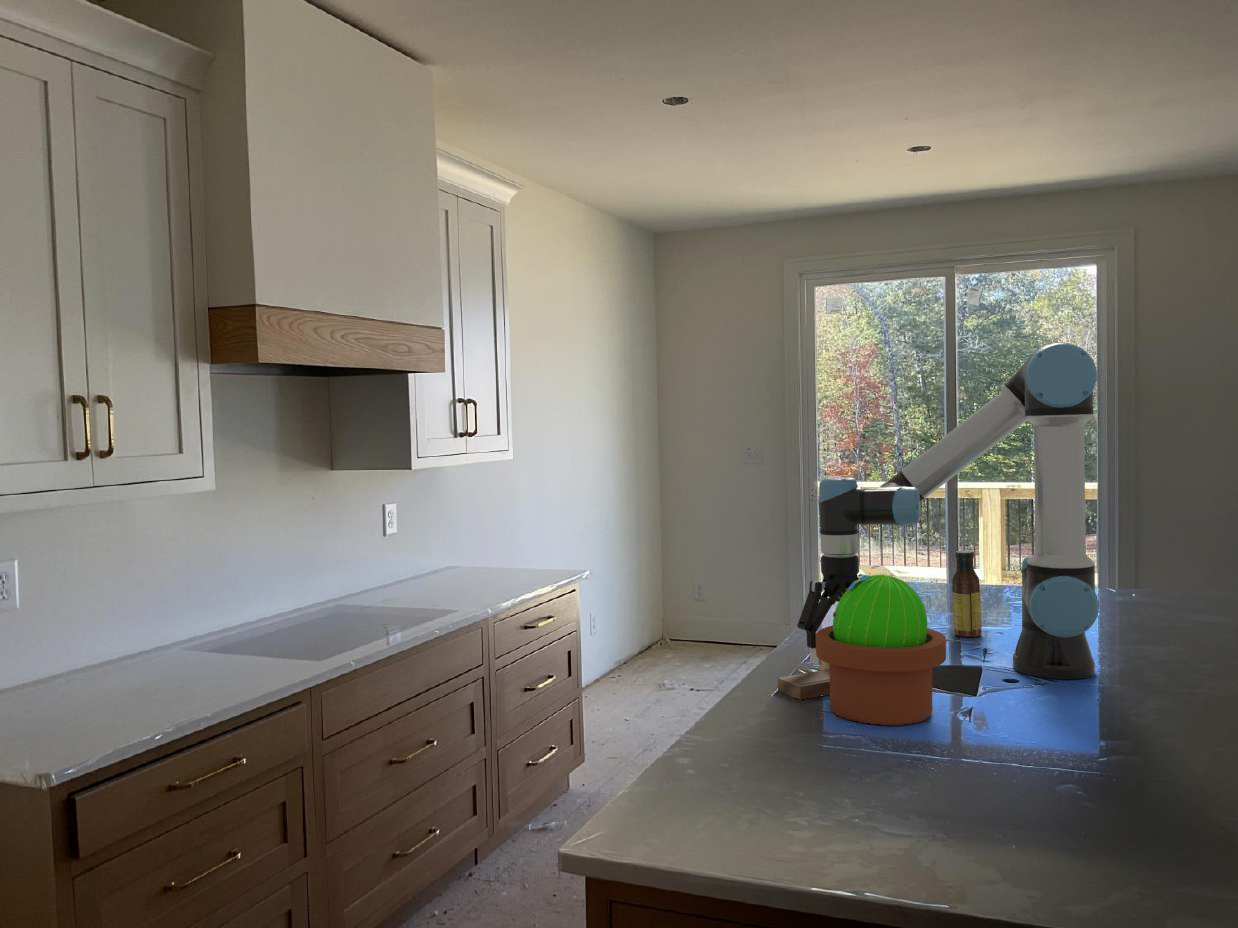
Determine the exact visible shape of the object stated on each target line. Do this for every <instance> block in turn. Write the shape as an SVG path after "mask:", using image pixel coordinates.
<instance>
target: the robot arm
mask: <svg viewBox="0 0 1238 928" xmlns="http://www.w3.org/2000/svg"><path fill="white" fill-rule="evenodd" d="M1097 380H1098V371H1097V366H1096V363H1095V361H1094V359H1093V358H1092V357H1091V355H1090V354H1089V353H1088V352H1087V351H1086V350H1084V349H1083V348H1081V347H1080V346H1078V345H1076V344H1072V343H1068V342H1056V343H1049V344H1047V345H1044V346H1042V347H1040V348H1039V349H1037V350H1036V351H1035V352H1034V353H1032V354H1031V355H1030V357H1029V358H1028V359H1026V361H1025V363H1024V364H1023V365H1022V366H1021V367H1020V368H1019V369H1018V370H1017V371H1016V372H1015V373H1014V374H1013V376H1011V377H1010V378H1009V379H1007V381H1005V382H1004V383H1003V384H1001V387H1000V392H999V393H997V394H996V395H995V396H994V397H993V398H992V399H990V400H989V401H988V402H987V403H986V404H984V405H982V407H981V408H979V409H978V410H976V411H975V412H974V413H972V414H971V415H970V416H968V418H966V419H965V420H964V421H963V422H961V423H960V424H958V425H957V426H956V427H955V428H954V429H952V430H951V431H950V432H949V433H948V434H946V435H945V436H944V437H942V438H941V439H940V440H938V441H937V442H936V443H934V445H932V446H931V447H929V448H928V449H927V450H926V451H925V452H923V453H922V454H920V455H919V456H918V457H917V458H915V459H914V460H913V461H911V463H909V464H908V465H907V466H905V467H904V468H902V469H901V471H900V472H898V473H896V475H894V476H892V477H891V478H889V480H887V481H885V482H883V483H882V484H881V485H880V486H877V487H864V486H863V487H862V486H858V485H859V484H858V483H857V479H856V478H855V477H844V476H843V477H827V478H826V477H825V478H823V479H821V481H819V485H818V486H819V487H818V488H819V490H818V492H819V493H818V511H819V512H818V514H819V518H818V519H819V532H820V534H819V541H820V543H819V544H820V553H822V554H823V555H822V554H821V556H820V573H821V574H822V577H823V578H822V581H816V580H810V582H809V584H808V585H809V588H808V590H809V591H808V595H807V597H806V600H805V602H804V606H803V608H802V611H801V613H800V616H799V620H798V623H797V624H796V625H797V628H798V629H800V630H804V631H805V633H806V646H807V648H809V664H814V665H817V666H819V665H822V661H821V660H820V659H819V658H818V657H817V656H816V634H817V632H818V631H819V629H820V626H821V625H822V623H823V621H824V620H825V618H826V616H827V614H828V613H829V611H830V609H831V607H832V606H834V605H835V604H836V602H838V603H839V601H840V598H842V596H843V595H844V593H845V592H846V591H847V590H846V589H848V588H849V587H850V586H851V584H852V583H853V582H854V581H857V580H858V579H859V578H861V577H863V576H864V577H865V576H867V575H868V574H861V573H860V556H859V555H857V554H858V553H859V552H860V549H859V547H860V546H859V544H860V543H859V525H860V526H866V525H873V526H875V525H876V526H881V525H882V526H900V527H903V526H906V525H907V526H909V525H916V524H918V523H919V522H920V521H921V503H922V502H923V501H924V500H925V499H926V498H928V497H929V496H930V495H931V494H933V493H934V492H935V491H937V490H938V489H940V488H941V487H942V486H943V485H944V484H946V483H948V481H950V480H951V479H952V478H954V477H955V476H956V475H958V474H959V473H960V472H961V471H962V470H963V471H964V469H966V468H967V467H968V466H969V465H971V464H972V463H973V462H975V461H976V460H978V459H979V458H980V457H981V456H983V455H984V454H985V453H987V452H988V451H989V450H991V449H993V447H995V446H996V445H997V444H999V443H1000V442H1002V440H1004V439H1005V438H1006V437H1007V436H1009V435H1010V434H1011V433H1013V432H1014V431H1015V430H1017V429H1018V428H1019V427H1021V426H1022V425H1023V424H1024V423H1026V422H1030V423H1031V424H1032V425H1033V452H1034V453H1033V455H1034V456H1033V457H1034V458H1033V463H1034V471H1033V472H1034V531H1035V532H1034V533H1035V534H1034V536H1035V537H1034V545H1035V546H1034V547H1035V548H1034V550H1035V552H1034V553H1033V555H1031V556H1026V557H1024V558H1023V560H1022V563H1021V565H1022V566H1021V568H1020V573H1021V632H1020V635H1019V638H1018V640H1017V643H1016V647H1015V650H1014V652H1013V654H1012V667H1013V669H1014V670H1016V671H1017V672H1019V673H1022V674H1025V675H1029V676H1032V677H1039V678H1043V679H1044V678H1045V679H1056V680H1079V679H1085V678H1086V679H1087V678H1091V677H1092V676H1095V673H1096V671H1095V670H1096V668H1095V664H1096V662H1095V659H1094V658H1093V655H1092V651H1091V648H1090V645H1089V642H1088V639H1087V636H1086V632H1087V631H1089V629H1090V628H1091V627H1092V626H1093V625H1094V624H1095V622H1096V620H1097V619H1098V618H1097V617H1098V615H1099V611H1100V601H1099V599H1098V598H1099V597H1098V595H1097V593H1096V571H1095V570H1096V569H1095V567H1096V564H1095V562H1094V560H1092V559H1091V557H1089V555H1088V554H1087V553H1086V478H1085V477H1086V472H1085V471H1086V468H1085V467H1086V465H1085V464H1086V462H1085V461H1086V460H1085V458H1086V457H1085V456H1086V455H1085V453H1086V451H1085V425H1086V423H1087V422H1088V421H1090V420H1091V419H1092V417H1094V390H1095V387H1096V385H1097ZM859 573H860V574H859ZM852 585H853V584H852ZM842 593H843V594H842Z"/></svg>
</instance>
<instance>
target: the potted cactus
mask: <svg viewBox="0 0 1238 928" xmlns="http://www.w3.org/2000/svg"><path fill="white" fill-rule="evenodd" d="M869 574H870V575H869ZM869 574H866V575H867V576H865V577H864V576H863V577H861V578H859V579H858V580H857V581H854V582H853V583H852V584H853V585H852V584H851V586H850V587H849V588H848V589H846V590H847V591H846V592H845V593H844V595H843V596H842V598H840V601H839V602H838V603H837V604H836V608H835V611H833V614H832V617H833V621H832V625H828V626H826V627H824V628H821V629H818V630H817V631H818V632H817V634H816V656H817V657H818V658H819V659H820V660H822V661H824V662H826V663H829V664H830V695H829V706H830V707H829V708H830V710H831V712H832V713H834V715H836V716H838V717H840V718H843V719H845V720H848V719H849V720H848V721H852V720H853V722H856V721H857V723H861V722H862V723H861V724H867V723H872V724H871V725H875V724H883V725H882V726H905V725H904V724H908V725H913V724H912V723H914V724H917V723H921V722H923V721H925V720H927V719H928V718H929V717H930V716H931V715H932V713H933V668H936V667H938V666H941V665H942V664H943V663H945V661H946V659H947V638H946V636H945V635H944V634H943V633H941V632H940V631H938V630H934V629H932V628H928V617H931V614H928V612H927V611H926V607H925V605H924V602H923V600H922V599H923V598H922V597H923V595H921V596H920V595H919V593H918V588H916V590H915V589H914V588H913V587H912V586H910V585H909V584H908V583H907V582H905V581H904V578H902V579H899V578H898V577H896V575H895V576H894V574H890V575H887V574H885V573H883V574H882V573H881V571H880V574H873V575H872V574H871V573H869ZM842 594H843V593H842Z"/></svg>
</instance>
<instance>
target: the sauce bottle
mask: <svg viewBox="0 0 1238 928" xmlns="http://www.w3.org/2000/svg"><path fill="white" fill-rule="evenodd" d="M974 557H975V552H974V551H973V550H969V549H968V550H965V549H963V550H962V549H960V550H957V551H955V558H956V571H955V573H954V574H953V577H952V590H951V591H952V613H953V614H952V618H953V628H954V629H953V630H954V634H955V635H956V636H959V637H962V638H978V637H980V636H981V635H982V628H983V623H982V622H983V621H982V619H983V618H982V601H981V589H980V588H981V587H980V577H979V576H978V574H977V573H976V571H975V567H974Z"/></svg>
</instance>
